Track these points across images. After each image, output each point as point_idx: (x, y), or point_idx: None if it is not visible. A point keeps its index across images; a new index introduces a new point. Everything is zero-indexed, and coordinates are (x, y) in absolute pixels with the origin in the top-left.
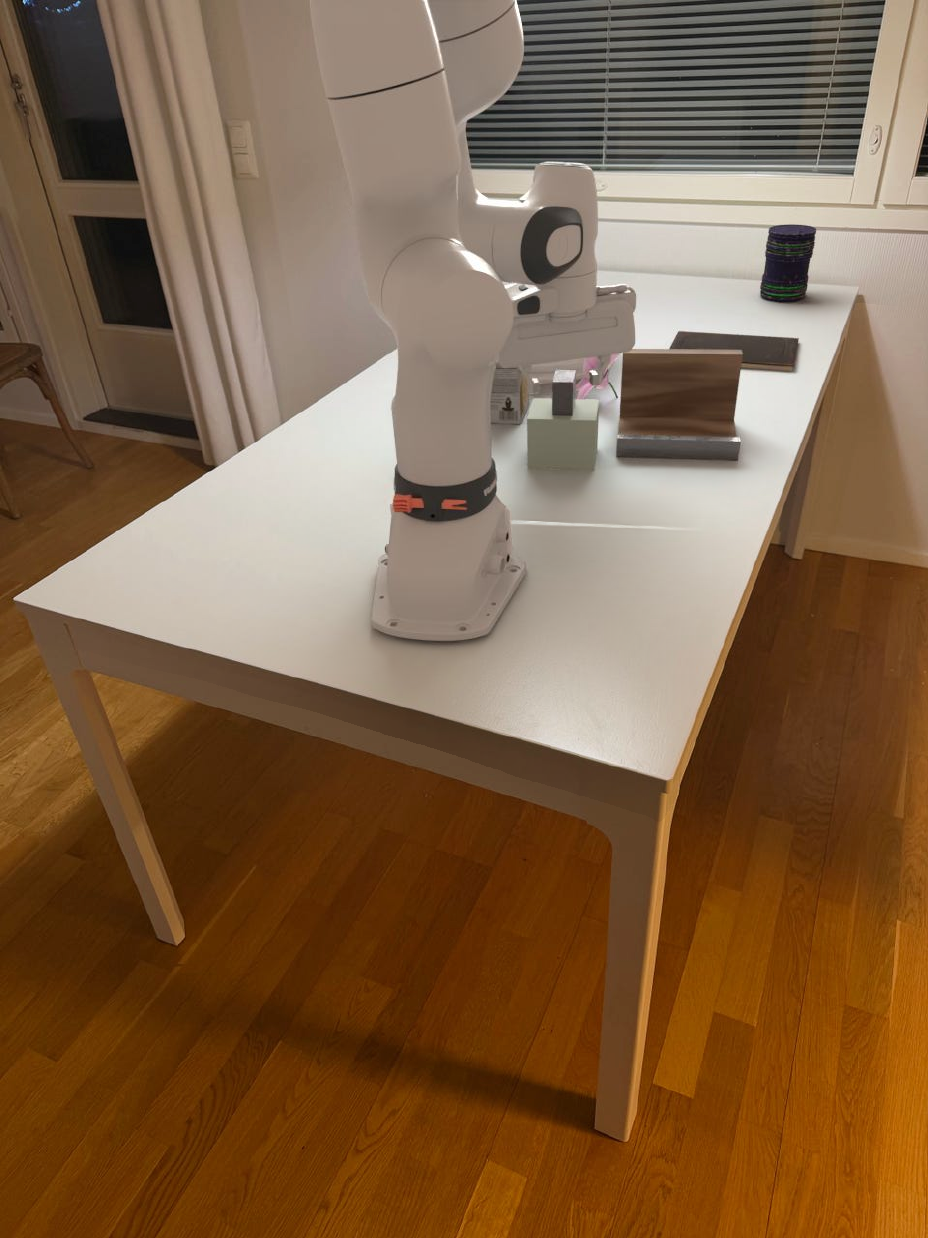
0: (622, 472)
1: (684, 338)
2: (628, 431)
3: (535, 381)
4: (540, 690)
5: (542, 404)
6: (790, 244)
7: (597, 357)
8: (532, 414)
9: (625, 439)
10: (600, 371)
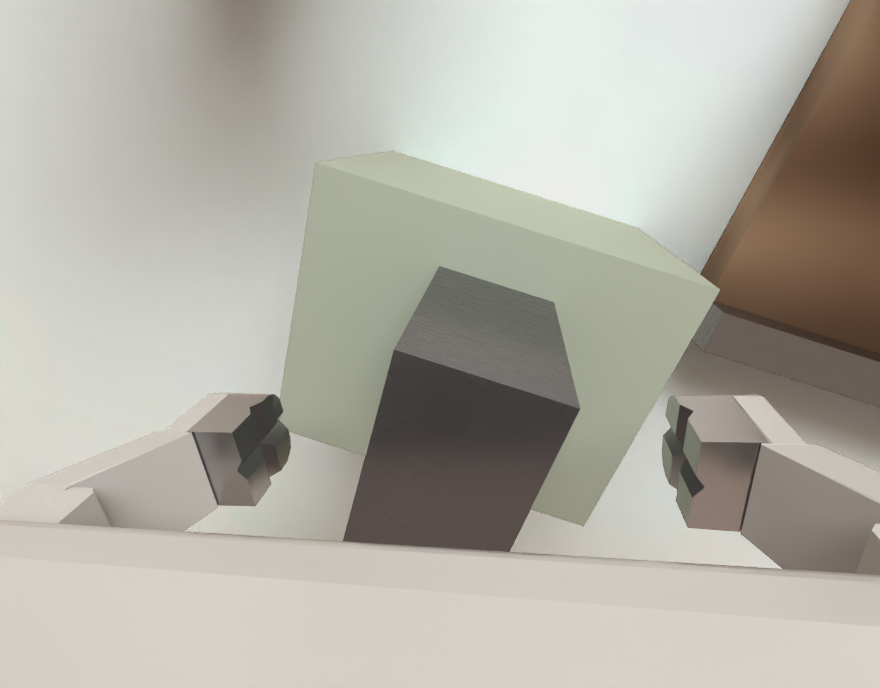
0: (643, 428)
1: None
2: (828, 184)
3: (228, 486)
4: None
5: (362, 278)
6: None
7: (866, 552)
8: (302, 388)
9: (734, 360)
10: (770, 553)
